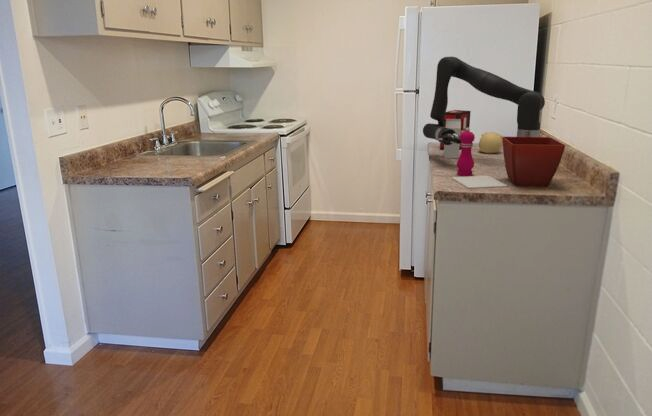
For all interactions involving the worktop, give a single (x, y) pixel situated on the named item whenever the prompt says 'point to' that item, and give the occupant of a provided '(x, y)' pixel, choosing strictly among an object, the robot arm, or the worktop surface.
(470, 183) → the mat
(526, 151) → the plant pot
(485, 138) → the tan ball
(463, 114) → the cleaning product box
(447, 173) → the worktop surface
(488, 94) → the robot arm
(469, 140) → the pepper mill
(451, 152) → the milk carton
